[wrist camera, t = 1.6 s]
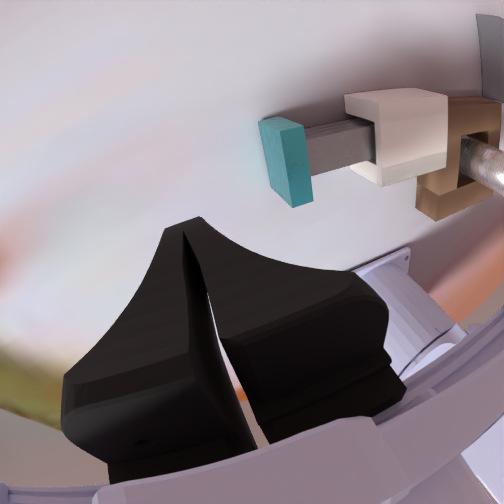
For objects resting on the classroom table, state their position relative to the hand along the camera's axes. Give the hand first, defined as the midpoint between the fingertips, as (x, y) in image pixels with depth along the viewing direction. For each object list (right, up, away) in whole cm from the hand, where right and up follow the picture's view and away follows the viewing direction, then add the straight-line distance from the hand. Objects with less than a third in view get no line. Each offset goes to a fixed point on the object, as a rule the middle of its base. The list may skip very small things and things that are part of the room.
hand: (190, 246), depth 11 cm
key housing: (+11, +8, +7) cm, 16 cm away
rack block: (+26, +18, +7) cm, 32 cm away
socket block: (+19, +8, +10) cm, 23 cm away
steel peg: (+19, +8, +10) cm, 23 cm away
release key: (+6, +6, +6) cm, 11 cm away
